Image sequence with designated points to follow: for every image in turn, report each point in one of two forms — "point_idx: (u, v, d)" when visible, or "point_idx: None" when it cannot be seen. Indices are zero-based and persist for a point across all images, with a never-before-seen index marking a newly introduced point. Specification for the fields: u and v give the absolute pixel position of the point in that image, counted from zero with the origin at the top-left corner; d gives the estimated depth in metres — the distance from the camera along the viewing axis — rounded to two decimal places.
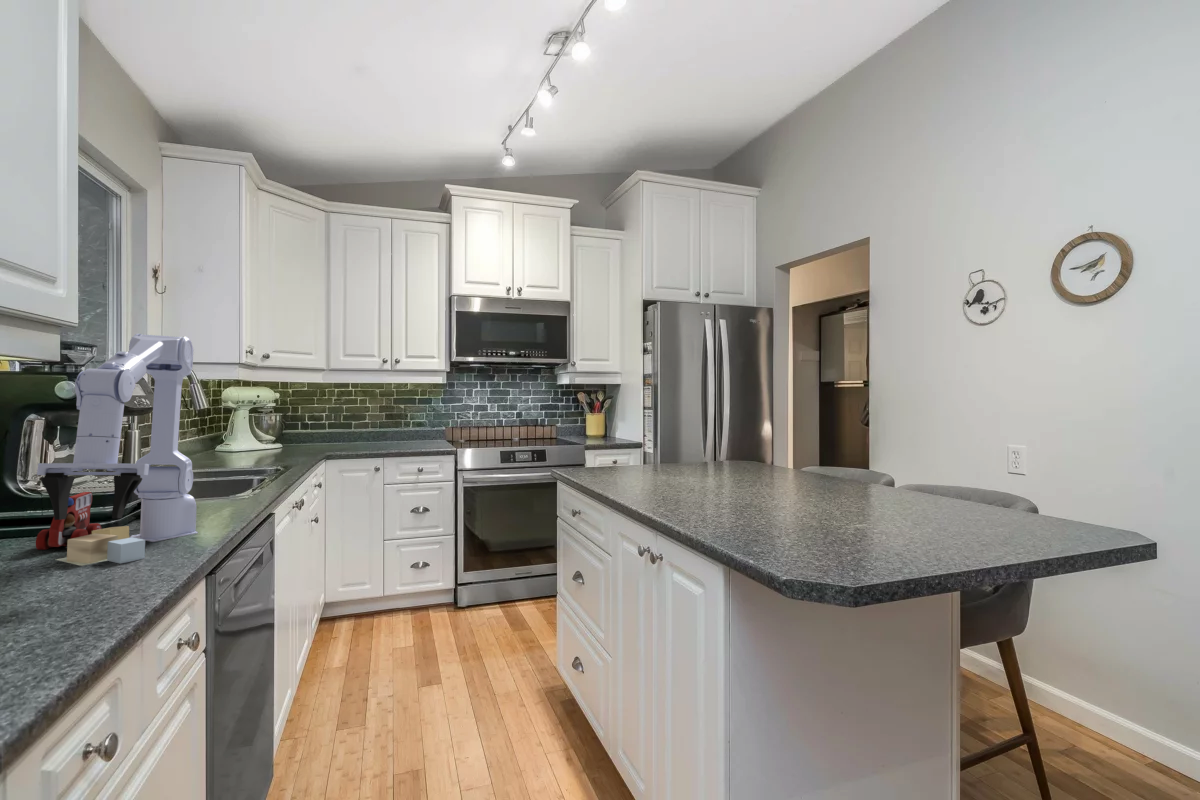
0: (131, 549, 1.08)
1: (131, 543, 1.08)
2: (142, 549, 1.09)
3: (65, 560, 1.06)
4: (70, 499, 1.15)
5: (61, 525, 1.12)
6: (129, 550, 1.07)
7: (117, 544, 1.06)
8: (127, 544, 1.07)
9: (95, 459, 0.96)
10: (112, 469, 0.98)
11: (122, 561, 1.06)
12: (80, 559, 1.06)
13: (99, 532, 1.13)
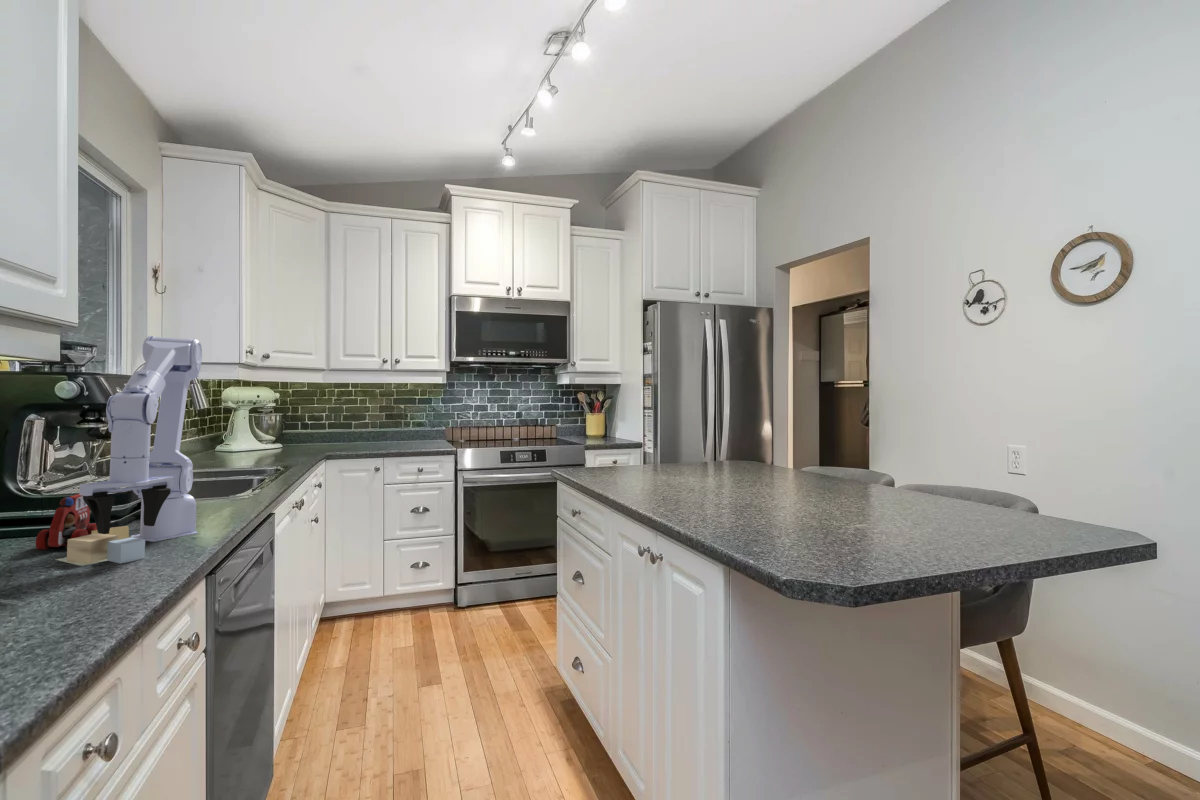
0: (131, 549, 1.08)
1: (131, 543, 1.08)
2: (142, 549, 1.09)
3: (65, 560, 1.06)
4: (70, 499, 1.15)
5: (61, 525, 1.12)
6: (129, 550, 1.07)
7: (117, 544, 1.06)
8: (127, 544, 1.07)
9: (144, 477, 1.09)
10: (149, 484, 1.11)
11: (122, 561, 1.06)
12: (80, 559, 1.06)
13: None
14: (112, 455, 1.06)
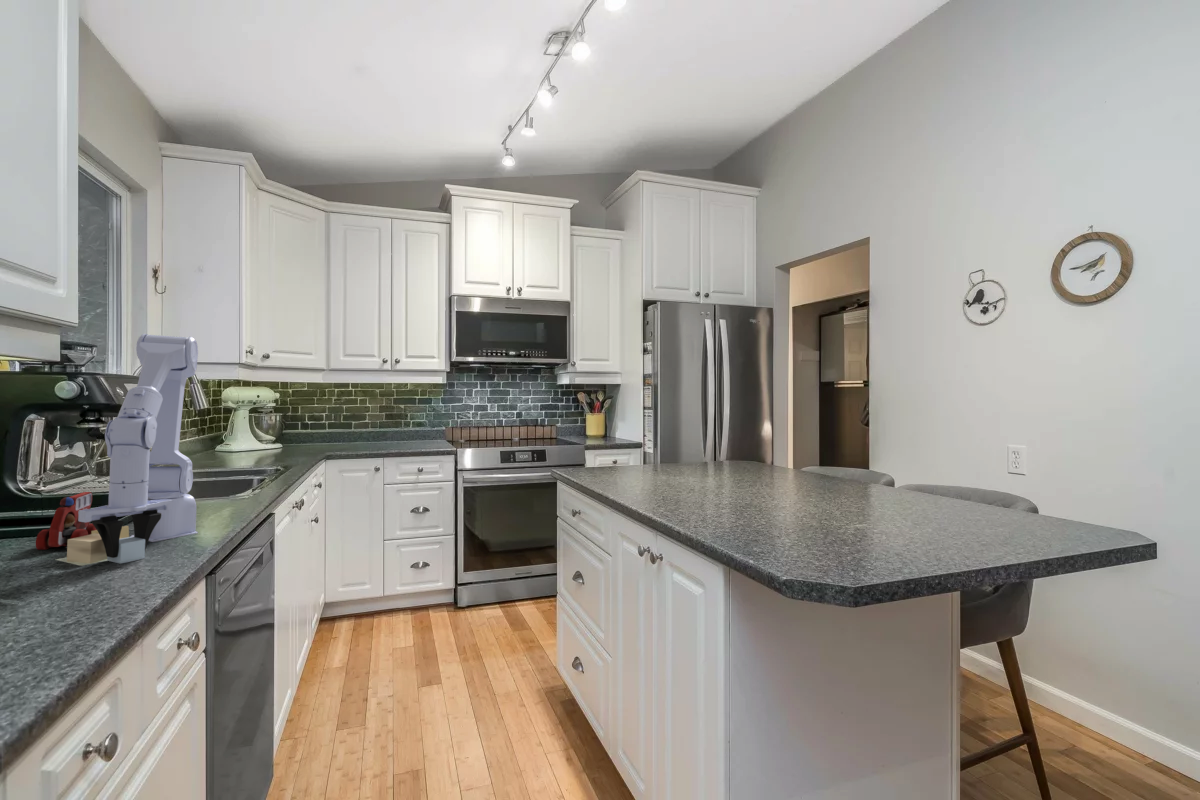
0: (132, 548, 1.08)
1: (131, 542, 1.08)
2: (142, 548, 1.09)
3: (65, 560, 1.06)
4: (70, 499, 1.15)
5: (61, 525, 1.12)
6: (129, 549, 1.07)
7: None
8: (127, 543, 1.07)
9: (142, 502, 1.09)
10: None
11: (122, 560, 1.06)
12: (80, 559, 1.06)
13: None
14: (111, 480, 1.06)
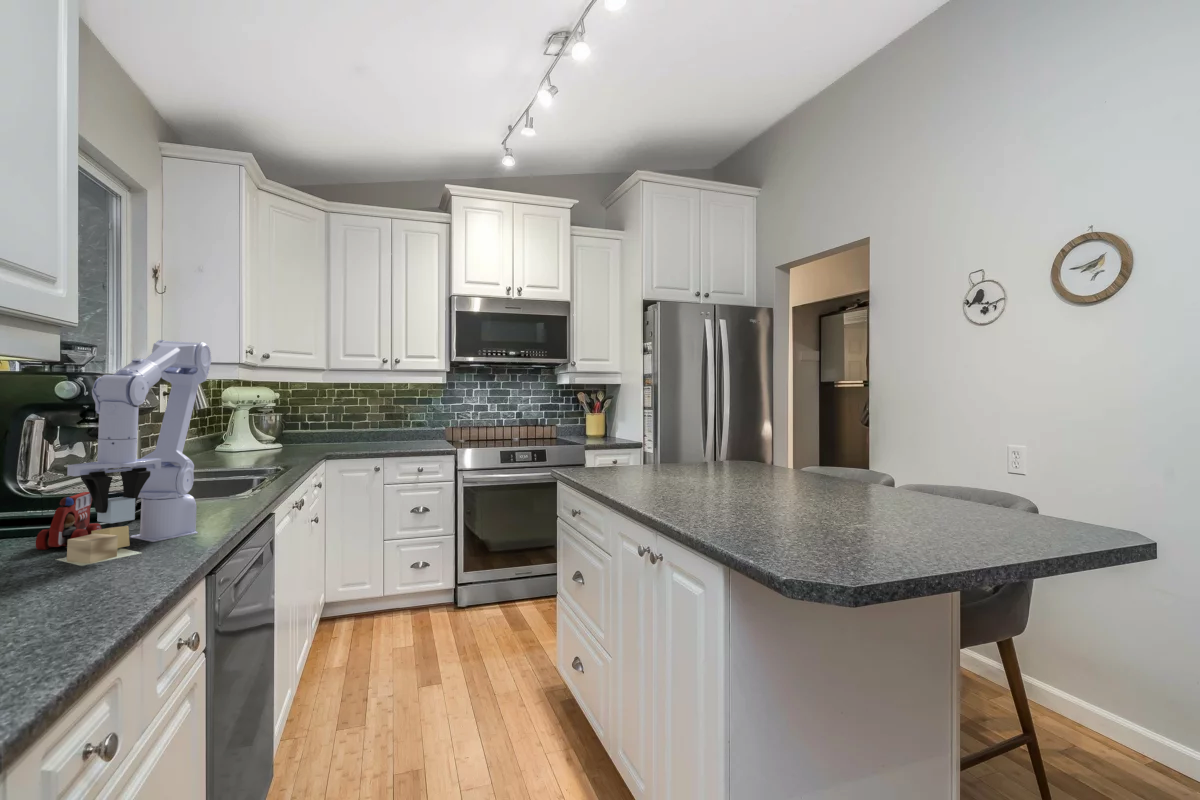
0: (122, 507, 1.08)
1: (121, 501, 1.08)
2: (132, 507, 1.10)
3: (65, 560, 1.06)
4: (70, 499, 1.15)
5: (61, 525, 1.12)
6: (119, 508, 1.08)
7: None
8: (117, 502, 1.08)
9: (131, 459, 1.09)
10: (137, 466, 1.12)
11: (112, 518, 1.07)
12: (80, 559, 1.06)
13: (99, 532, 1.13)
14: (99, 436, 1.07)
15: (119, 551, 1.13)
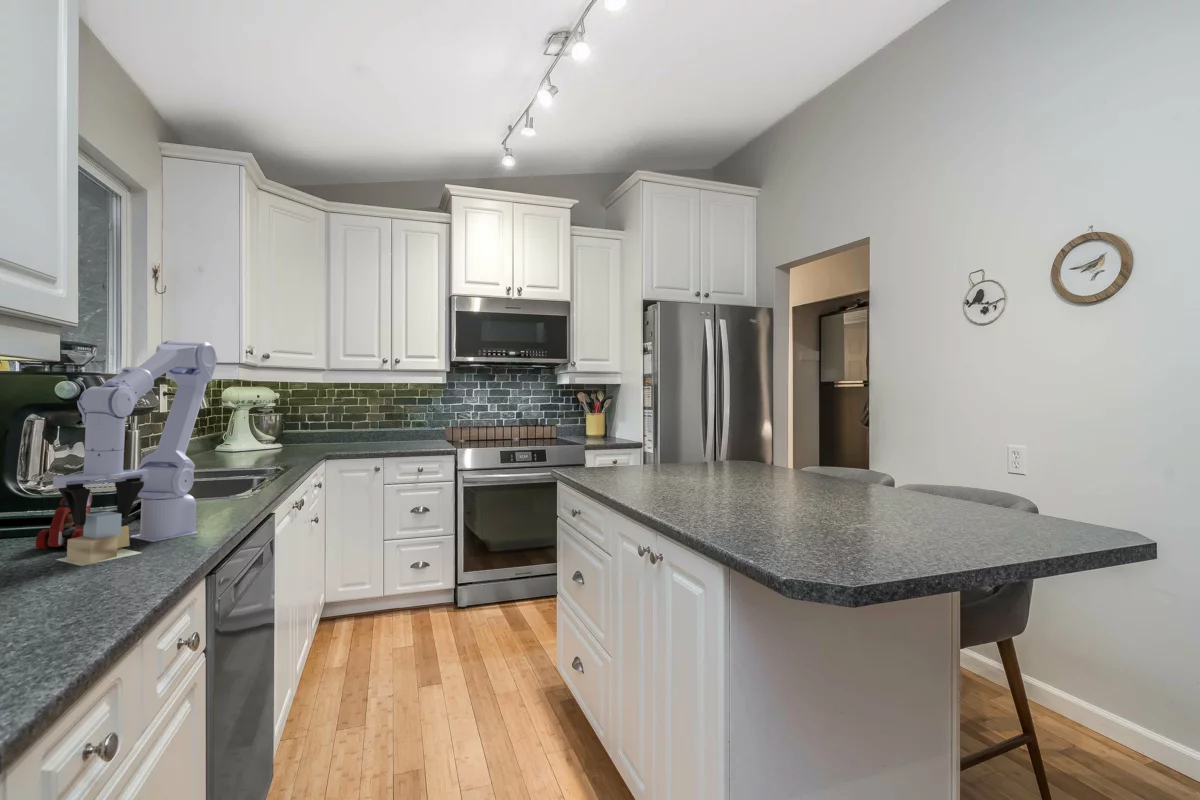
0: (107, 522, 1.09)
1: (107, 516, 1.09)
2: (118, 523, 1.11)
3: (65, 560, 1.06)
4: None
5: (61, 525, 1.12)
6: (105, 523, 1.09)
7: (93, 517, 1.08)
8: (103, 517, 1.08)
9: (118, 470, 1.10)
10: (123, 477, 1.12)
11: (98, 534, 1.07)
12: (80, 559, 1.06)
13: None
14: None
15: (119, 551, 1.13)
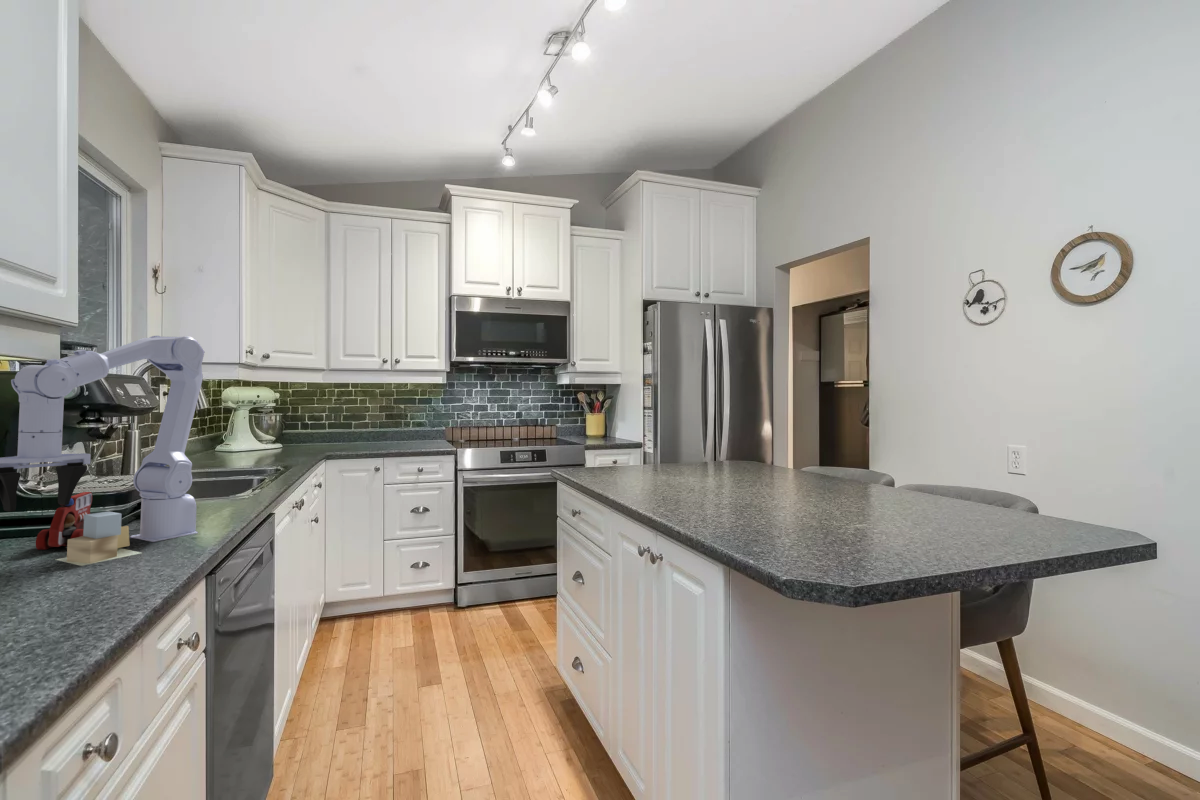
0: (107, 522, 1.09)
1: (107, 516, 1.09)
2: (118, 523, 1.11)
3: (65, 560, 1.06)
4: (70, 499, 1.15)
5: (61, 525, 1.12)
6: (105, 523, 1.09)
7: (93, 517, 1.08)
8: (103, 517, 1.08)
9: (55, 453, 1.04)
10: (62, 461, 1.06)
11: (98, 534, 1.07)
12: (80, 559, 1.06)
13: None
14: None
15: (119, 551, 1.13)
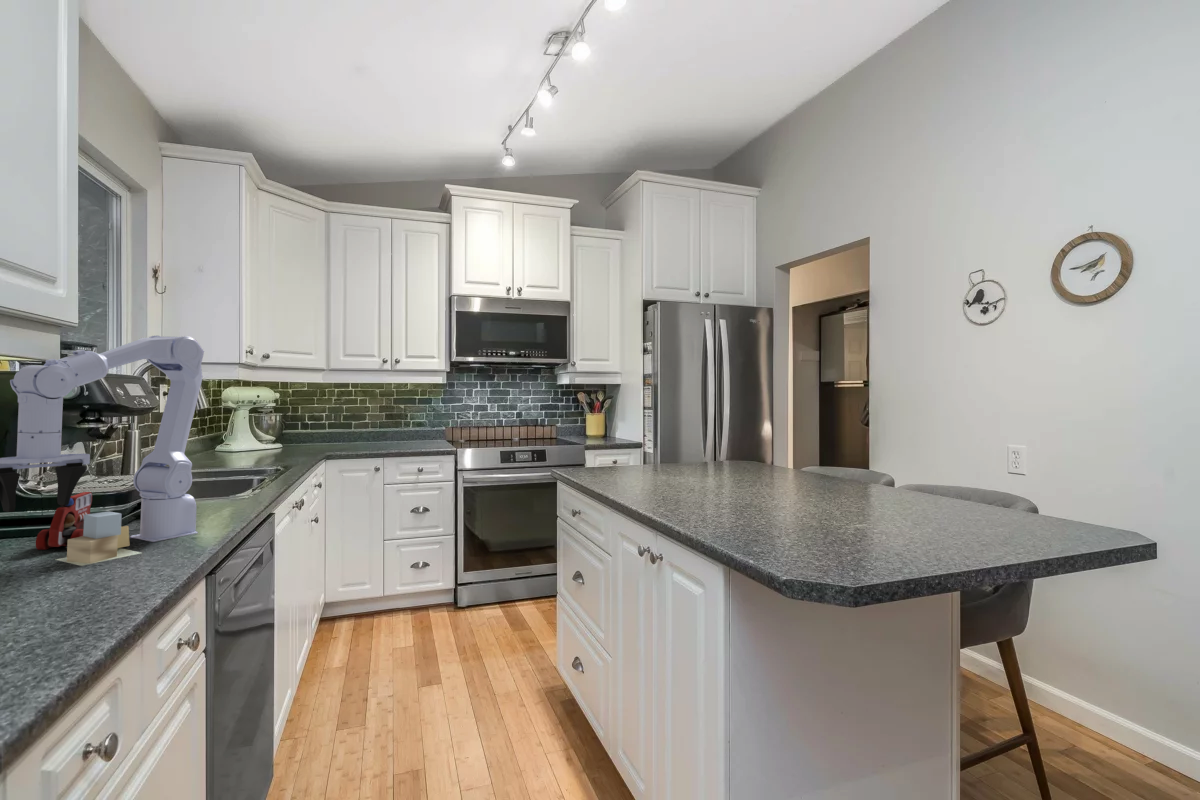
0: (107, 522, 1.09)
1: (107, 516, 1.09)
2: (118, 523, 1.11)
3: (65, 560, 1.06)
4: (70, 499, 1.15)
5: (61, 525, 1.12)
6: (105, 523, 1.09)
7: (93, 517, 1.08)
8: (103, 517, 1.08)
9: (54, 454, 1.04)
10: (61, 461, 1.06)
11: (98, 534, 1.07)
12: (80, 559, 1.06)
13: None
14: None
15: (119, 551, 1.13)
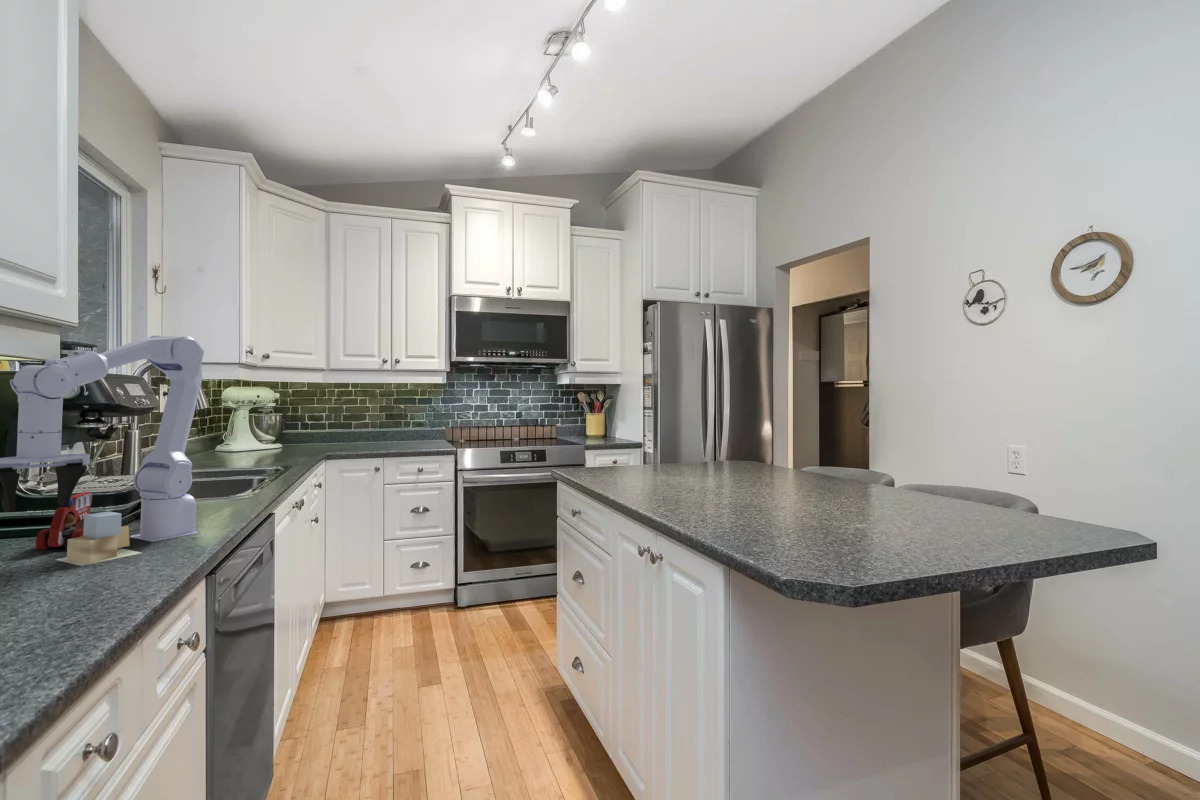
0: (107, 522, 1.09)
1: (107, 516, 1.09)
2: (118, 523, 1.11)
3: (65, 560, 1.06)
4: (70, 499, 1.15)
5: (61, 525, 1.12)
6: (105, 523, 1.09)
7: (93, 517, 1.08)
8: (103, 517, 1.08)
9: (54, 454, 1.04)
10: (61, 461, 1.06)
11: (98, 534, 1.07)
12: (80, 559, 1.06)
13: None
14: None
15: (119, 551, 1.13)
